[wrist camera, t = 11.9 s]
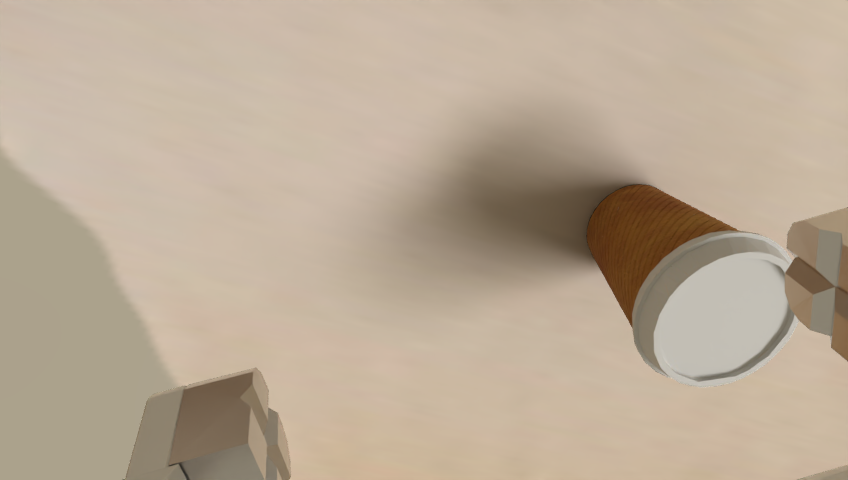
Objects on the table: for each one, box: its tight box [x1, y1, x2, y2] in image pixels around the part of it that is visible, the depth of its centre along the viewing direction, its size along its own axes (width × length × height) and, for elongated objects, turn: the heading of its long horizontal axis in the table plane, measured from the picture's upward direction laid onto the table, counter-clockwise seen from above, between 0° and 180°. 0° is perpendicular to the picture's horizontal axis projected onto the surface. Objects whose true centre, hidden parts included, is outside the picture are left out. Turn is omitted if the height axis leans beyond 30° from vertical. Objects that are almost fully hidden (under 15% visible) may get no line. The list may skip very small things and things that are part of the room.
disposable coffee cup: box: [587, 185, 799, 387], centre depth 42 cm, size 10×10×12 cm
